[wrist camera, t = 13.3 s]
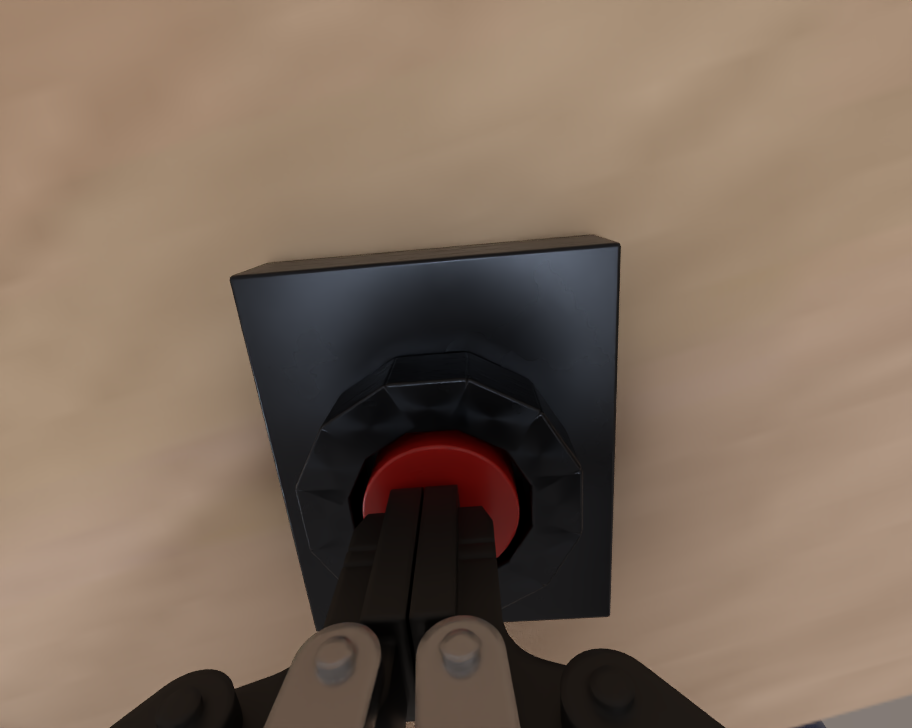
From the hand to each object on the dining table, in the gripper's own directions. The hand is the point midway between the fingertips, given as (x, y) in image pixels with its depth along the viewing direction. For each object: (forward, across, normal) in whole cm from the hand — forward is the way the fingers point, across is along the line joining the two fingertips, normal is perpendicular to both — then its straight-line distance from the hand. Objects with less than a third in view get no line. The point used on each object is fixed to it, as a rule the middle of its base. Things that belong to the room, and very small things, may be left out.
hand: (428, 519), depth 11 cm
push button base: (+4, 0, 0) cm, 4 cm away
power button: (+2, 0, 0) cm, 2 cm away
